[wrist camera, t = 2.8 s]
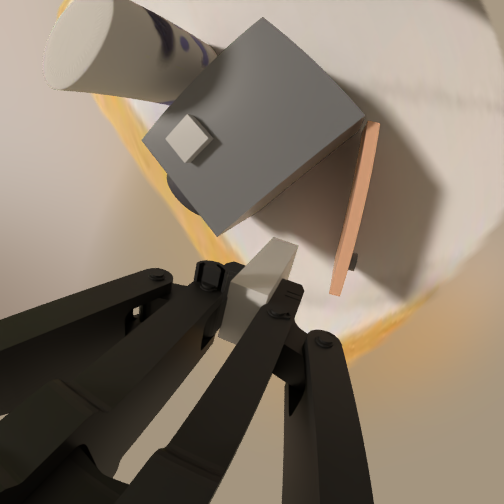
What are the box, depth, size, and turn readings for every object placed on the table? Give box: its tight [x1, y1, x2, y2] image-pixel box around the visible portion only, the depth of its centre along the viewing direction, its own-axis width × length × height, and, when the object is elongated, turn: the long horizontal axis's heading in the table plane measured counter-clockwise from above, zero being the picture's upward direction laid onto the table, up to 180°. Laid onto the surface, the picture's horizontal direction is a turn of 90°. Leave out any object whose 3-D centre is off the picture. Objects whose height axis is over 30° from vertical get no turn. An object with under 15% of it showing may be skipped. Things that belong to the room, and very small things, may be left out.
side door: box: [329, 121, 380, 296], centre depth 27 cm, size 15×2×10 cm, turn 172°
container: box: [43, 0, 217, 105], centre depth 25 cm, size 10×10×20 cm
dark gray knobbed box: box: [142, 17, 365, 237], centre depth 28 cm, size 18×12×13 cm, turn 132°
